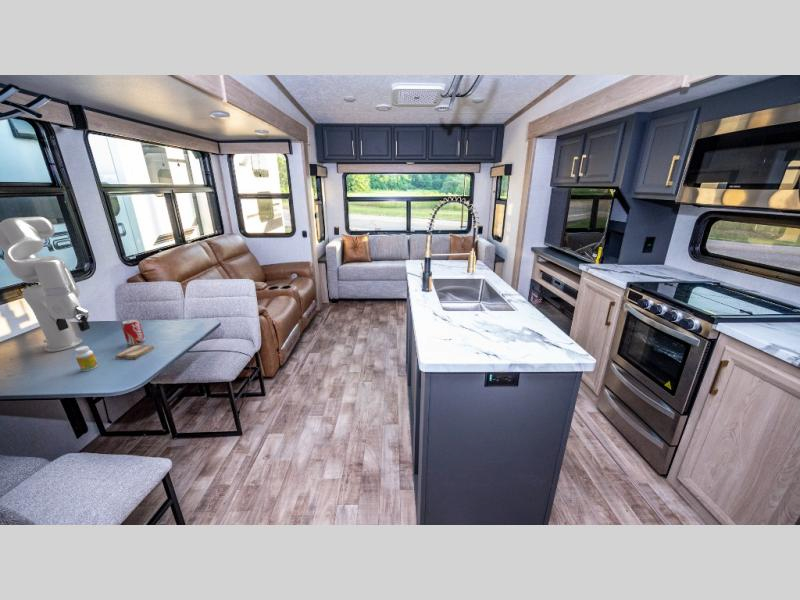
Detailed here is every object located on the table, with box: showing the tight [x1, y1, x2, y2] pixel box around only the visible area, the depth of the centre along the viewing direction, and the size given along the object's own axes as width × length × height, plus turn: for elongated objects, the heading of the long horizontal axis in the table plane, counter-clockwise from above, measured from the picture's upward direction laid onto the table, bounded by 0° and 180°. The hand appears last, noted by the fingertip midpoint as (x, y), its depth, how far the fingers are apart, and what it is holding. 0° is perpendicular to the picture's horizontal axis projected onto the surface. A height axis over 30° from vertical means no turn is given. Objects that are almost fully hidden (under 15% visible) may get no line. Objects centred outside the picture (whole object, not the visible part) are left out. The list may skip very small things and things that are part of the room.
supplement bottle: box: [74, 345, 98, 372], centre depth 131 cm, size 5×5×10 cm
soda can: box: [121, 318, 146, 346], centre depth 152 cm, size 7×7×12 cm
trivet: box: [114, 344, 155, 360], centre depth 144 cm, size 10×10×2 cm
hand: (74, 329), depth 126 cm, fingers open, 9 cm apart
